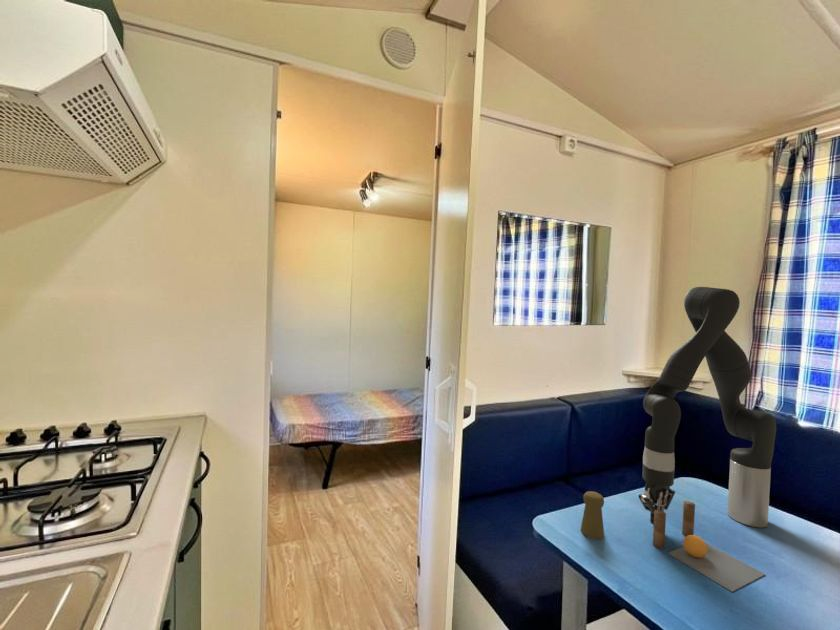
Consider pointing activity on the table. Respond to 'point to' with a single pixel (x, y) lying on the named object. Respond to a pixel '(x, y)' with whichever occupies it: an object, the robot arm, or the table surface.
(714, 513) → the table surface
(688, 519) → the post
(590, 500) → the brown pawn
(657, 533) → the post
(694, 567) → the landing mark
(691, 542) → the ball
